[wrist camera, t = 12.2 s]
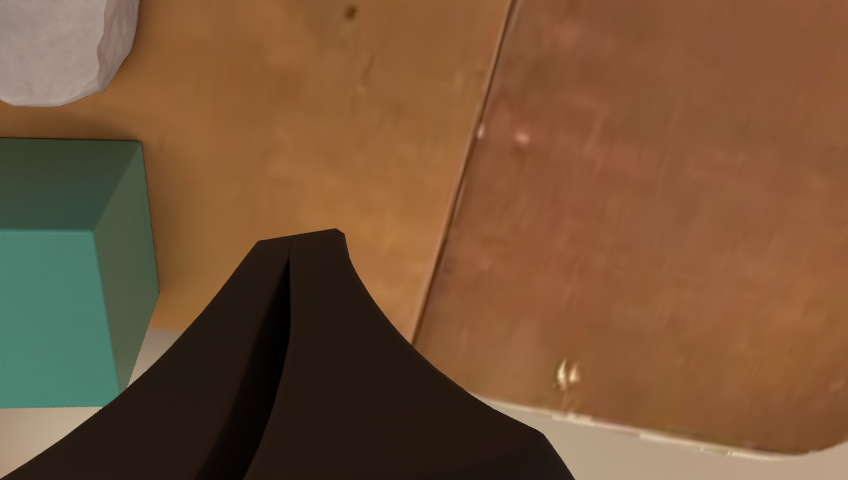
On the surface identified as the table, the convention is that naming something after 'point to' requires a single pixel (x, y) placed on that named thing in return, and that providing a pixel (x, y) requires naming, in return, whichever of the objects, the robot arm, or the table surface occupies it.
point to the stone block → (62, 48)
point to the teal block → (72, 270)
